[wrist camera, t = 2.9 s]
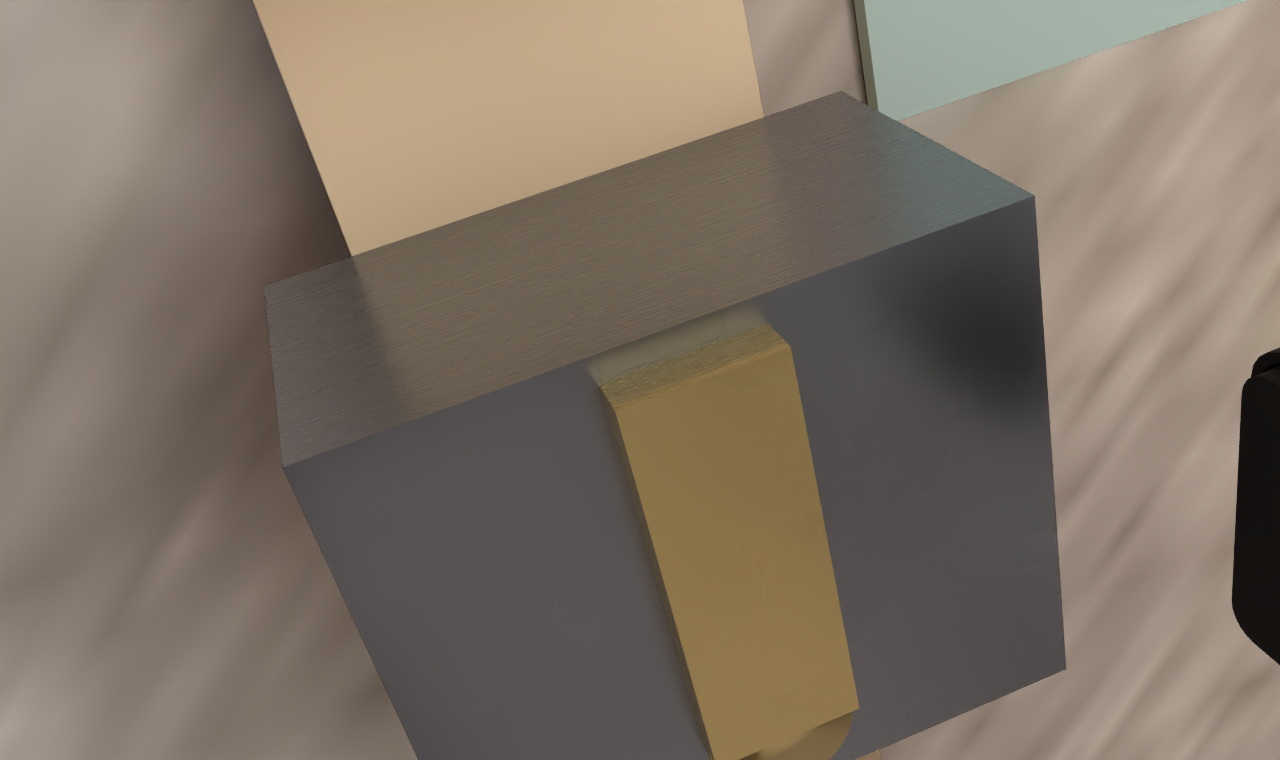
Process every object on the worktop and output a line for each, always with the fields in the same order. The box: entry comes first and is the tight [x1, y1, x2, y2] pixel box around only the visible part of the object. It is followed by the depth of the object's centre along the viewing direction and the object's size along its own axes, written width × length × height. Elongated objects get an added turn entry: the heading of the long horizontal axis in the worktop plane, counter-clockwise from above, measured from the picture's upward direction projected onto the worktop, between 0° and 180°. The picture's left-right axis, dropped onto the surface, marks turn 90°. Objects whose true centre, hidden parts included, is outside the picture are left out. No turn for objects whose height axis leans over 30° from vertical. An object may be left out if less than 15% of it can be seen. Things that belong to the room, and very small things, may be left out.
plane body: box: [252, 0, 881, 760], centre depth 17 cm, size 24×5×9 cm, turn 14°
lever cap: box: [264, 91, 1066, 760], centre depth 14 cm, size 6×7×4 cm
